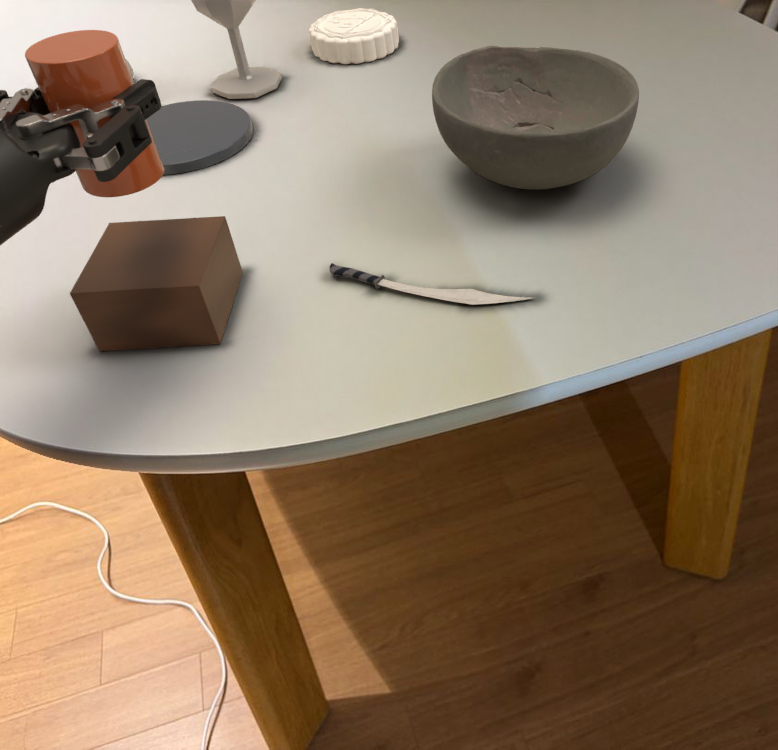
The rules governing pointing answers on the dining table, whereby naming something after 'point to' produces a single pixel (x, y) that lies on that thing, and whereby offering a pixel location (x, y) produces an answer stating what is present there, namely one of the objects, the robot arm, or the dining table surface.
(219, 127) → the plate
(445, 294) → the knife
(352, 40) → the mooncake
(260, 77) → the wineglass
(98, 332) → the stand
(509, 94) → the bowl
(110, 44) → the orange cylinder
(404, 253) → the dining table surface
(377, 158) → the dining table surface
